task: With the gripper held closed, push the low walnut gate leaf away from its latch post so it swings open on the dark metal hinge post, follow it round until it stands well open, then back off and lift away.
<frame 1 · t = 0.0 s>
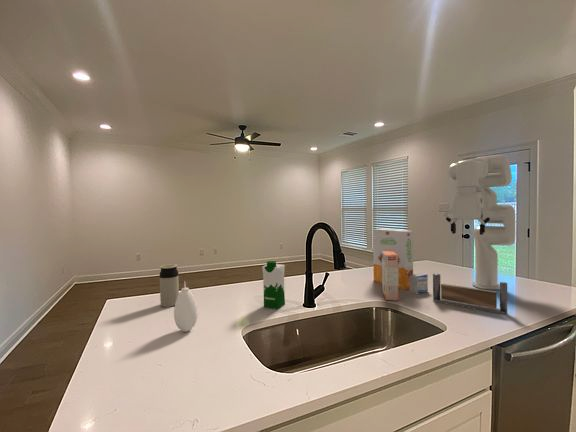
hand: (467, 233, 119), 31 cm above the worktop, tool pointing down, fingers open, 9 cm apart
cracker box: (390, 296, 140), on the worktop
gate: (467, 295, 124), point 5 cm above the worktop, hinge at 0.0°
cereal box: (392, 284, 162), on the worktop
travel mug: (170, 305, 135), on the worktop
gate frame: (436, 301, 132), on the worktop
medicine box: (418, 292, 147), on the worktop
white air blower bulb: (186, 331, 106), on the worktop
milk carton: (274, 306, 131), on the worktop
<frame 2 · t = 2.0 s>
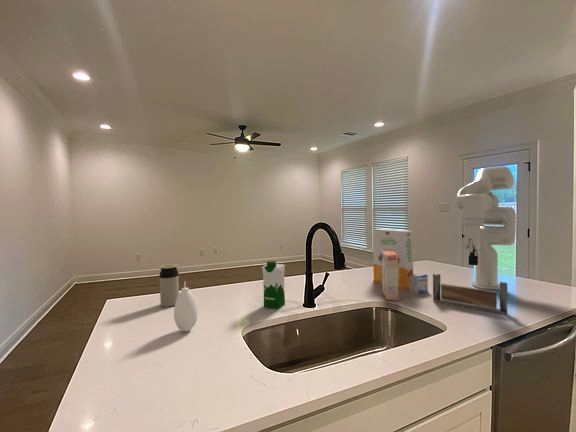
hand: (473, 264, 128), 17 cm above the worktop, tool pointing down, fingers closed
nothing on the worktop moved.
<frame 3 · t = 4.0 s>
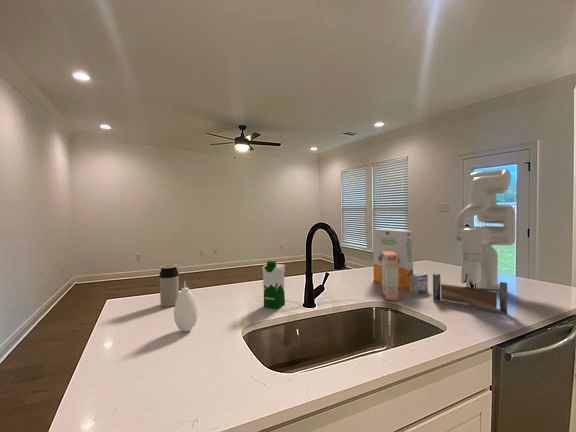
hand: (472, 299, 126), 2 cm above the worktop, tool pointing down, fingers closed
gate: (467, 295, 124), point 5 cm above the worktop, hinge at 0.1°, touching gripper
everything else where it was.
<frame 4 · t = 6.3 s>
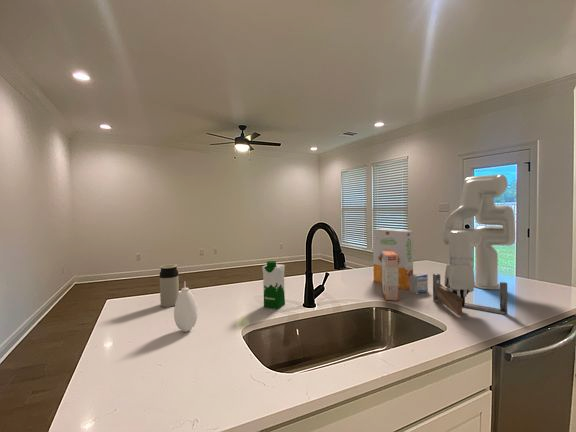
hand: (460, 305, 119), 2 cm above the worktop, tool pointing down, fingers closed
gate: (448, 298, 120), point 5 cm above the worktop, hinge at 54.0°, touching gripper
everything else where it was.
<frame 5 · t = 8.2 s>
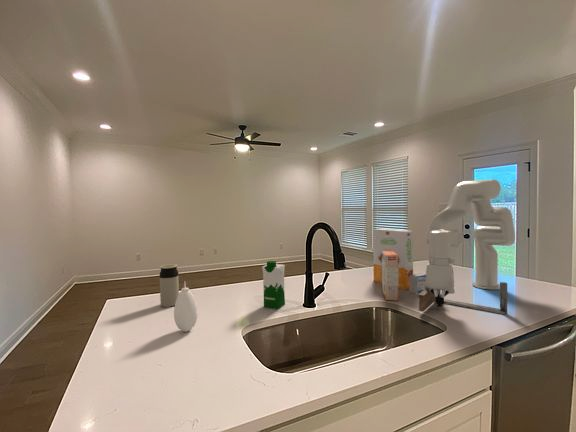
hand: (439, 305, 120), 2 cm above the worktop, tool pointing down, fingers closed
gate: (428, 297, 123), point 5 cm above the worktop, hinge at 89.3°, touching gripper
everything else where it was.
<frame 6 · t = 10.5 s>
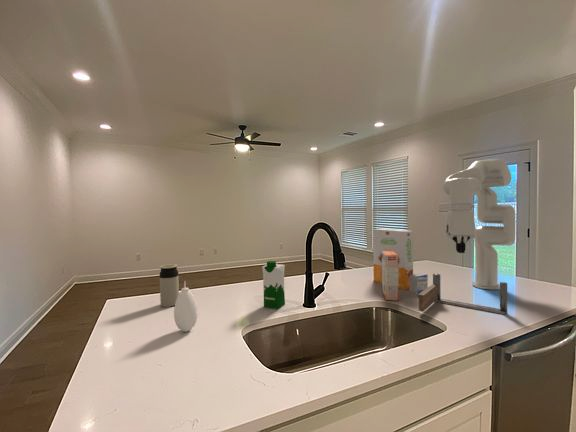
hand: (460, 252, 121), 23 cm above the worktop, tool pointing down, fingers closed
gate: (428, 297, 123), point 5 cm above the worktop, hinge at 89.5°
everything else where it was.
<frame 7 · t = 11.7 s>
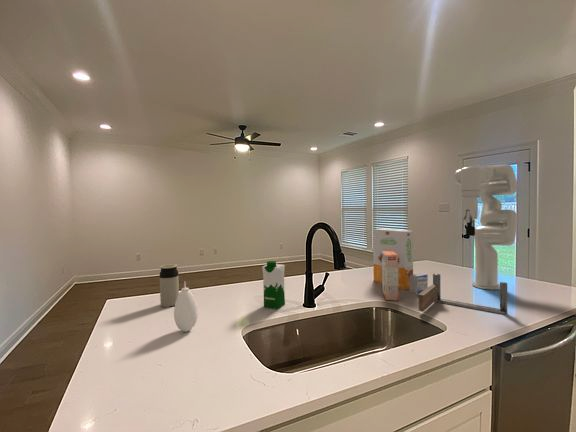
hand: (470, 235, 133), 29 cm above the worktop, tool pointing down, fingers closed
nothing on the worktop moved.
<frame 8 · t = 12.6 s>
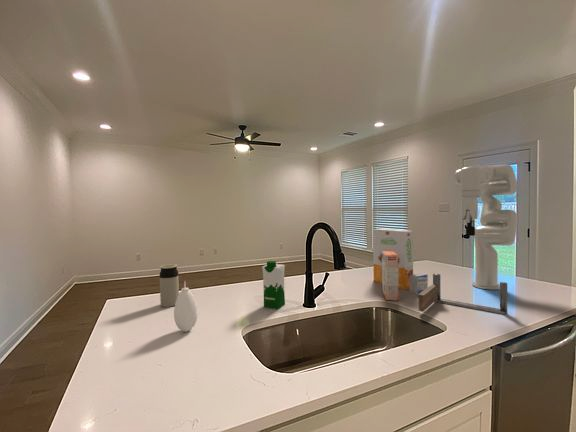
hand: (470, 235, 133), 29 cm above the worktop, tool pointing down, fingers closed
nothing on the worktop moved.
at the end: gate at +90° (first picture: +0°); medicine box moved 0.3 cm from its start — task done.
